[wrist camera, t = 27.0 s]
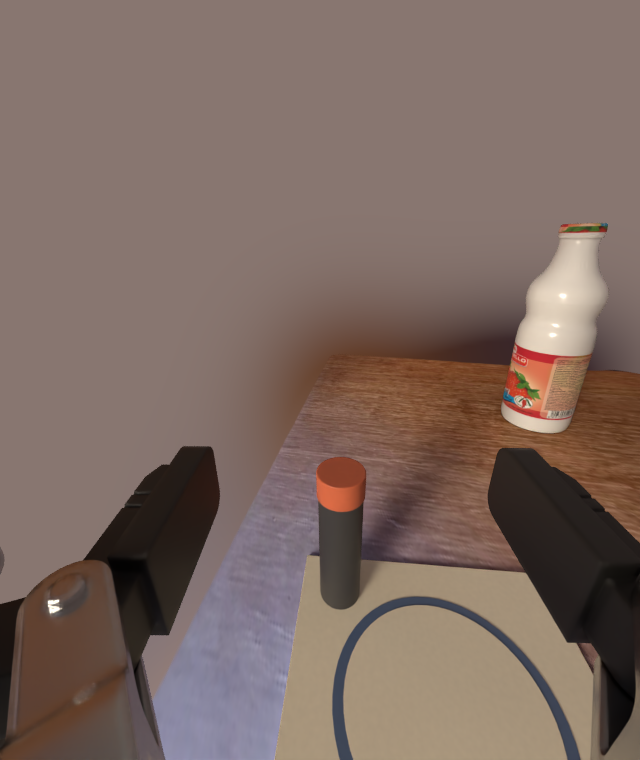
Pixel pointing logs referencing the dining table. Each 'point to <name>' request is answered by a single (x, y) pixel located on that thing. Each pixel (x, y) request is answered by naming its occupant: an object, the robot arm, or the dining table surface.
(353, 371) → the dining table surface
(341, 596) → the marker
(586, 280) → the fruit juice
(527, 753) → the paper
